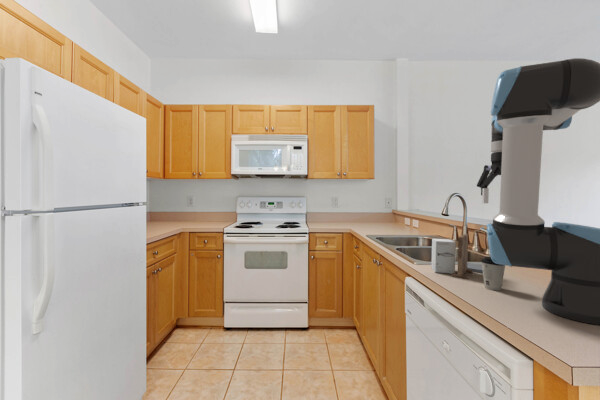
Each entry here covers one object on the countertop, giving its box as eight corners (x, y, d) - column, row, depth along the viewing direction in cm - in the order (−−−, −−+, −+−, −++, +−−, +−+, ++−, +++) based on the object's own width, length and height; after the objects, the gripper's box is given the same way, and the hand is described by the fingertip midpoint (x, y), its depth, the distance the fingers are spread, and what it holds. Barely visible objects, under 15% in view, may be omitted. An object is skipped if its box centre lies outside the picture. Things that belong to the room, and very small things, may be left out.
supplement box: (434, 272, 114) (435, 240, 113) (431, 268, 121) (431, 238, 121) (455, 274, 112) (456, 241, 112) (450, 269, 119) (451, 238, 119)
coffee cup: (485, 290, 93) (485, 259, 93) (477, 284, 100) (477, 255, 100) (509, 292, 92) (510, 261, 91) (499, 285, 98) (500, 256, 98)
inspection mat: (492, 274, 112) (492, 271, 112) (463, 270, 118) (463, 267, 118) (495, 269, 119) (495, 266, 119) (467, 265, 126) (467, 262, 126)
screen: (466, 279, 106) (467, 238, 105) (451, 276, 109) (452, 236, 109) (472, 272, 115) (473, 234, 115) (458, 270, 118) (459, 233, 118)
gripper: (541, 148, 109) (540, 204, 109) (480, 156, 132) (479, 202, 133) (528, 147, 106) (526, 204, 107) (468, 155, 130) (467, 202, 130)
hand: (500, 203), depth 120 cm, fingers open, 13 cm apart
